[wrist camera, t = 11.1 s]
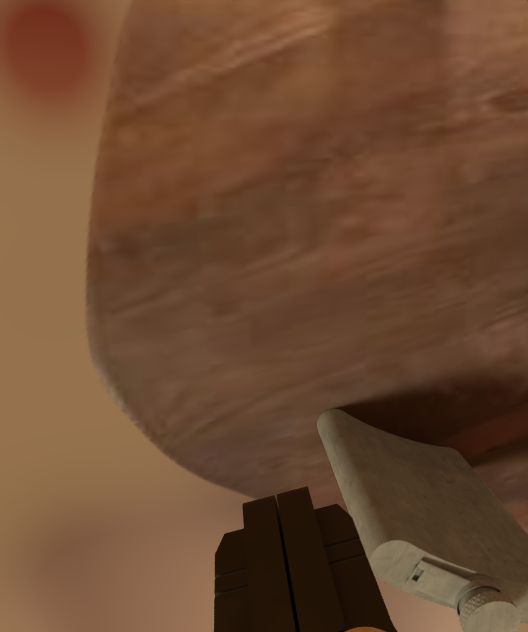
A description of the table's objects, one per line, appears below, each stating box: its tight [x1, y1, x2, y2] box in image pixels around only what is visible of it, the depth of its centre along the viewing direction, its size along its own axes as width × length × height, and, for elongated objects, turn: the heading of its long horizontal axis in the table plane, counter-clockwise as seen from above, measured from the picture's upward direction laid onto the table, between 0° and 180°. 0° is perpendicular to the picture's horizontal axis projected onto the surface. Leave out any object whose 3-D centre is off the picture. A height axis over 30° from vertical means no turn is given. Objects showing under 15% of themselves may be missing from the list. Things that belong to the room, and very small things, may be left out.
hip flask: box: [317, 409, 528, 632], centre depth 40 cm, size 16×4×20 cm, turn 68°
